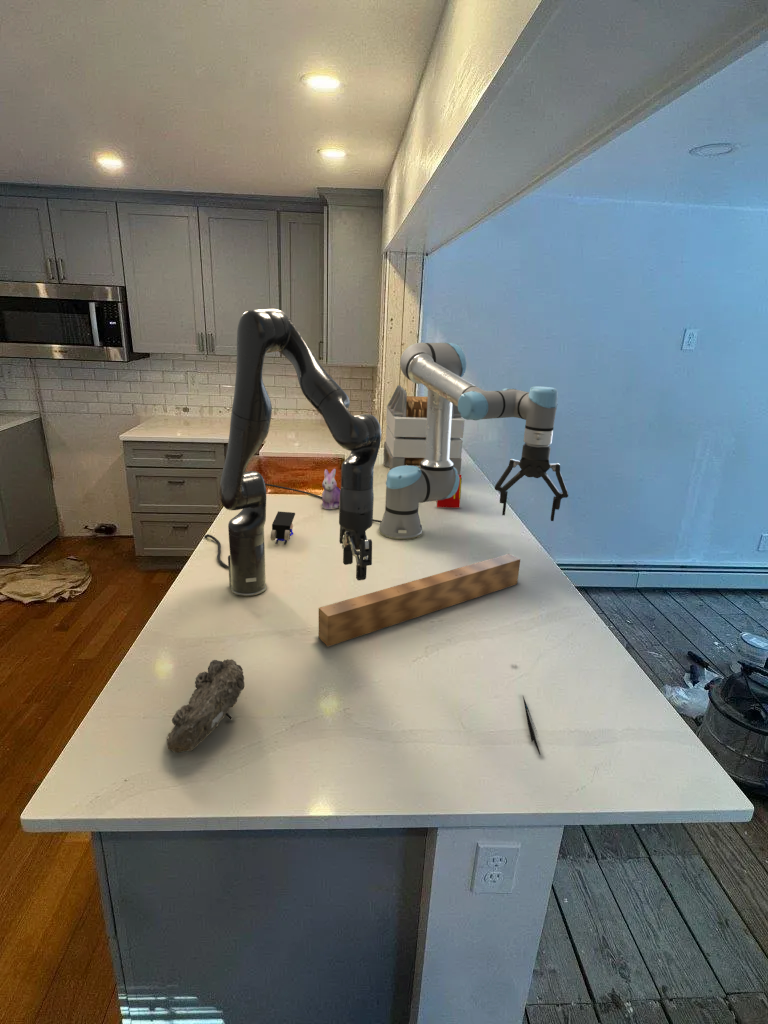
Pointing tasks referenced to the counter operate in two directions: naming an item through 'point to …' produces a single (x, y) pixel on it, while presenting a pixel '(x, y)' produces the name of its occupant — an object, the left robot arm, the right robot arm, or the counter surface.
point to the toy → (452, 499)
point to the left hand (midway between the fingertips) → (354, 571)
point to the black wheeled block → (282, 527)
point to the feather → (530, 725)
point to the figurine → (330, 491)
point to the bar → (415, 598)
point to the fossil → (206, 705)
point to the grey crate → (415, 431)
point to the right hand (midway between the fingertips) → (527, 516)
